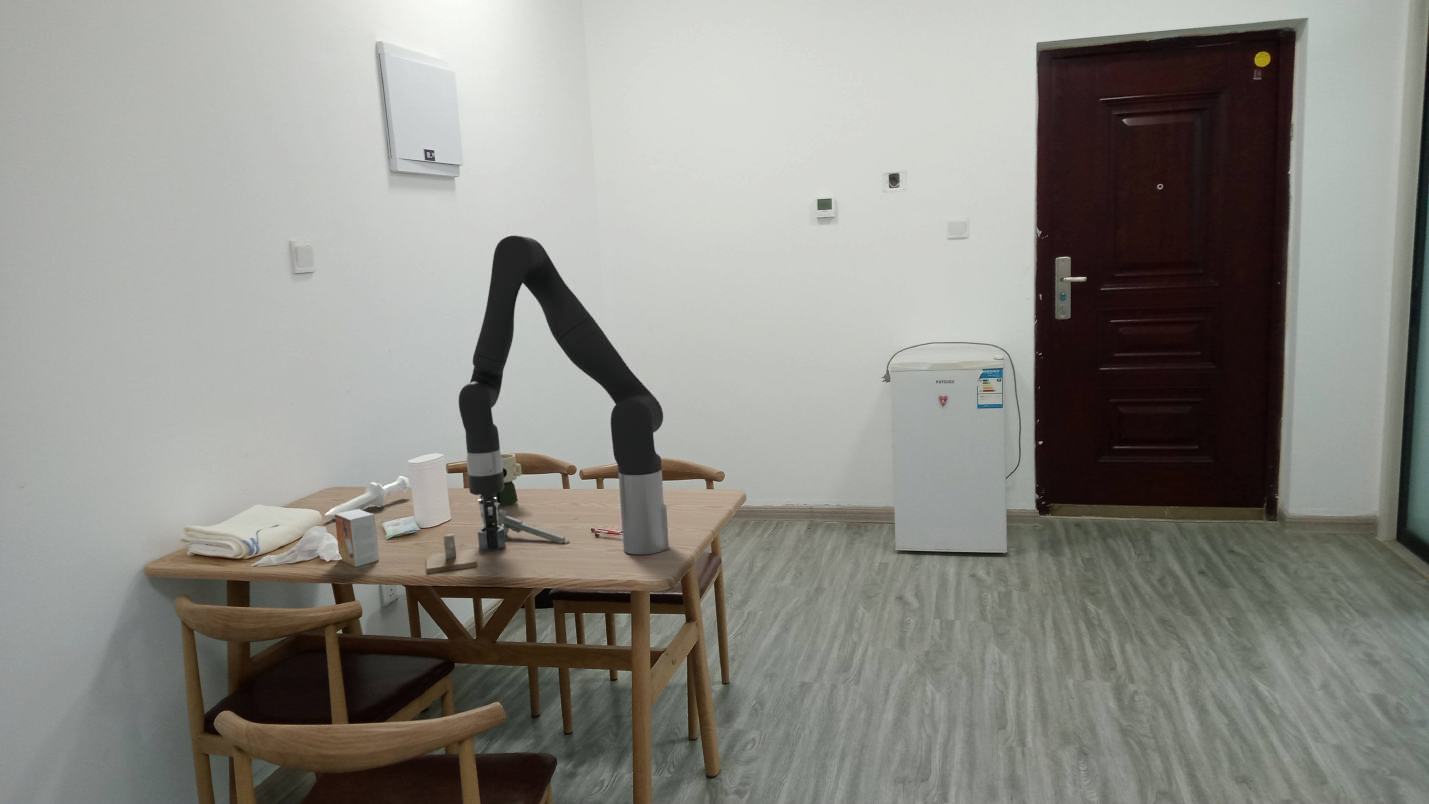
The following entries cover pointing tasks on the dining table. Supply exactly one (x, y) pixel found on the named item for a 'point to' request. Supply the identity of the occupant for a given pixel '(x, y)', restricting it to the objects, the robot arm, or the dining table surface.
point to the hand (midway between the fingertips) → (491, 544)
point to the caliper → (526, 528)
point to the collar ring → (483, 538)
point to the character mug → (508, 480)
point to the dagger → (371, 496)
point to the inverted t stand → (450, 557)
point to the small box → (357, 537)
